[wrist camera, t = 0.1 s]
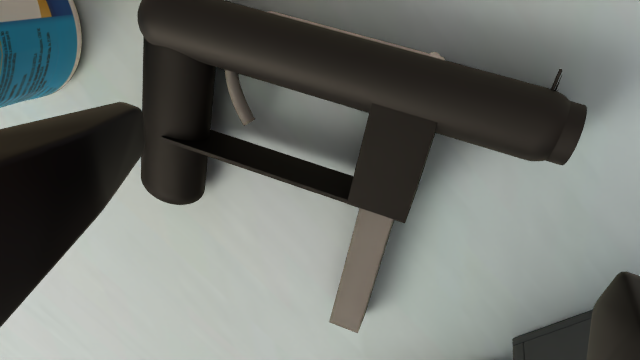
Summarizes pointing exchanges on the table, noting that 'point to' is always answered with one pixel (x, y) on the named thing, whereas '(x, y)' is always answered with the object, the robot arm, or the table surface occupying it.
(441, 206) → the table surface
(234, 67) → the door handle
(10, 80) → the beverage bottle
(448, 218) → the table surface
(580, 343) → the tote
